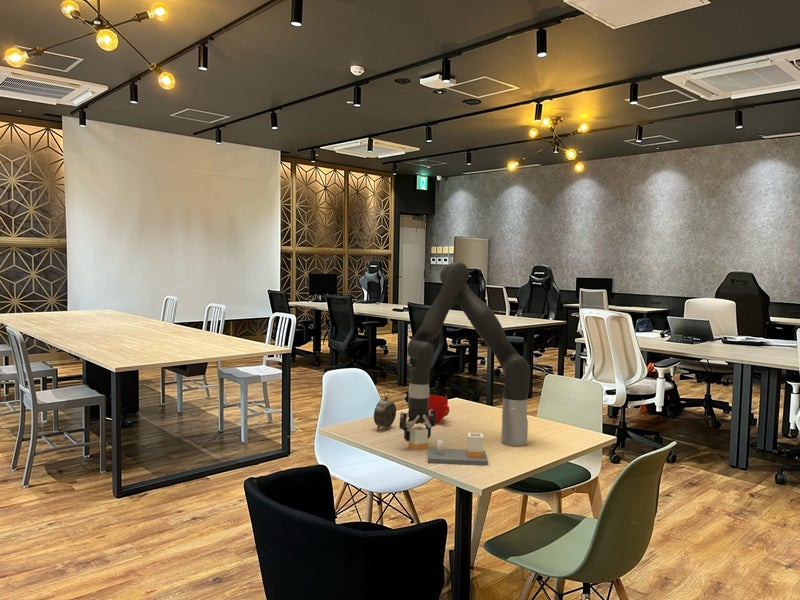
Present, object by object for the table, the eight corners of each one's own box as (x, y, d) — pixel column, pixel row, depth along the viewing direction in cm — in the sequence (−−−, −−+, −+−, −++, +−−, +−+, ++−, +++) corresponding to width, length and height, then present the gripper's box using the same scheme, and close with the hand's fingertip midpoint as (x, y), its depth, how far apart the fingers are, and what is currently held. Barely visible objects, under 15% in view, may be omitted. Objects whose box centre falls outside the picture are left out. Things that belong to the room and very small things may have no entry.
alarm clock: (387, 425, 244) (387, 386, 244) (398, 427, 242) (399, 388, 241) (372, 431, 235) (373, 391, 234) (383, 433, 232) (384, 392, 232)
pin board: (485, 454, 208) (485, 430, 208) (487, 465, 196) (488, 440, 196) (428, 452, 209) (429, 428, 209) (427, 462, 197) (428, 437, 197)
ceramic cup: (436, 429, 240) (436, 405, 240) (411, 420, 254) (411, 397, 254) (459, 425, 248) (460, 401, 248) (434, 416, 262) (434, 394, 261)
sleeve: (419, 444, 218) (420, 426, 218) (427, 448, 214) (427, 429, 213) (408, 446, 215) (408, 427, 215) (415, 450, 211) (416, 431, 211)
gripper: (429, 392, 221) (427, 434, 222) (396, 395, 213) (395, 439, 214) (440, 395, 214) (439, 439, 215) (407, 399, 207) (406, 444, 208)
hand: (417, 439), depth 215 cm, fingers open, 8 cm apart
